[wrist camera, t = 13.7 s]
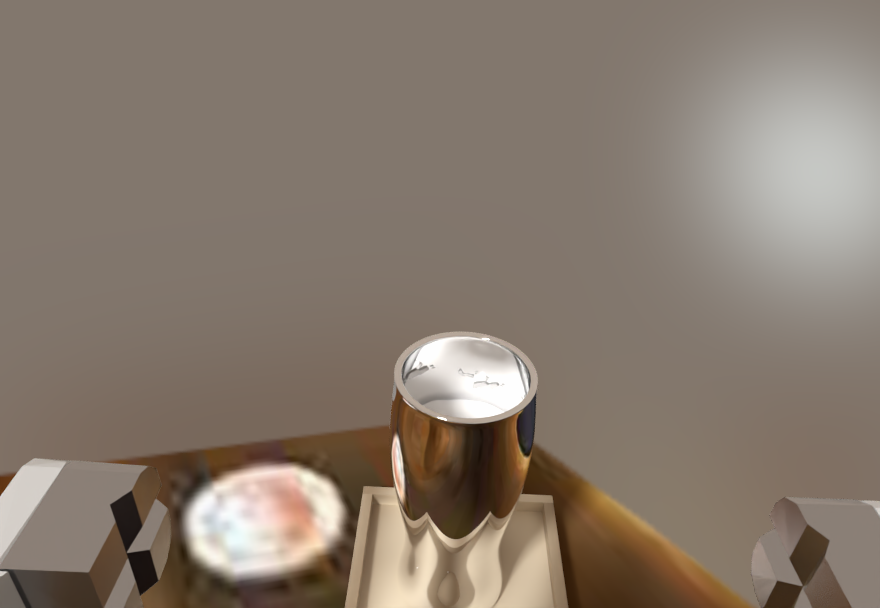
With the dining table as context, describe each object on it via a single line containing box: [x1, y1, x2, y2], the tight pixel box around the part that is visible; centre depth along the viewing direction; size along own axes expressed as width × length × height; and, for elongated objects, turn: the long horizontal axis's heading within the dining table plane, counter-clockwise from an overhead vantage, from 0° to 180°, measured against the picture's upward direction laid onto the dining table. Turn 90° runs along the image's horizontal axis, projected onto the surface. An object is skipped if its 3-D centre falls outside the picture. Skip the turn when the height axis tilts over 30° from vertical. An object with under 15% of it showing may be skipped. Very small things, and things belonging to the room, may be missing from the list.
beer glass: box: [389, 332, 538, 608], centre depth 35 cm, size 7×7×15 cm
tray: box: [345, 486, 568, 608], centre depth 39 cm, size 12×11×2 cm
